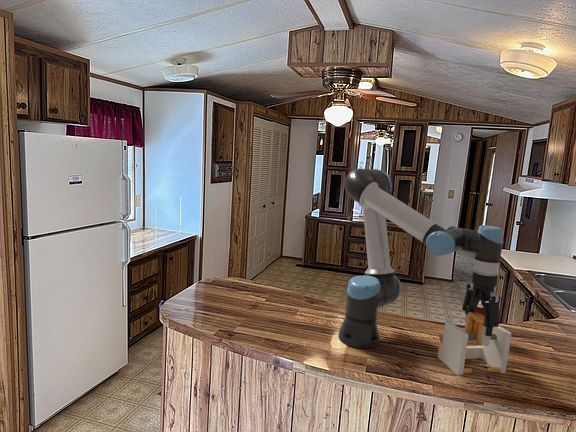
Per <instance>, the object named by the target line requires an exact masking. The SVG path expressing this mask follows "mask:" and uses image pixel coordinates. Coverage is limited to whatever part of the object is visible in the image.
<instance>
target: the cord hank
mask: <svg viewBox="0 0 576 432" xmlns="http://www.w3.org/2000/svg"><path fill="white" fill-rule="evenodd" d="M478 323H479V328H478V335H477V340H476V343H475V345H476V346H482V345H481V338H482V331H483V325H485V318H484V316H483V315H481V314H480V313H478V312H474V313H472V312H469V313H468V316H467V323H465V324H466V331H465V330H464V331H465V332H466V333H468V334H477V327H478ZM489 323H490V322H489ZM485 346H488V345H485Z"/></svg>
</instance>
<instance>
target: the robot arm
mask: <svg viewBox="0 0 576 432" xmlns="http://www.w3.org/2000/svg"><path fill="white" fill-rule="evenodd" d="M392 185H393V183H392V179H391V177H390V176H389V175H388V173H386V171H384V170H380V169H377V168H372V169H371V168H356V169H353V170H351V171H350V172H348V174H347V175H346V177H345V178H344V183H343V186H344V190H345V193H346V194H347V195H348V196H349V197H350V198H351V199H352V200H354V201H355V202H356V203H358V205H359V206H360V208H361V209H362V211H363V214H362V215H363V222H364V223H363V224H364V234H365V235H364V237H365V245H366V246H365V247H366V255H367V266H368V267H367V269H366V270H365V271H364V274H363V275H355V276H353V277H351V278H350V279H349V281H348V282H347V283H348V286H347V288H346V302H345V303H346V304H345V315H344V319H343V321H342V322H341V325H340V327H339V330H338V339H339V340H340V342H342V344H345V345H347V346H350V347H354V348H357V349H371V348H374V347H377V346H378V345H379V343H380V334H379V329H378V323H377V319H378V310H379V309H380V308H383V307H385V306H389V305H391V304H392V303H394V302H396V301H397V300H398V299H399V298H400V295H401V293H402V284H401V281H400V279H399V278H397V276H396V270H395V269H394V268H393V267H391V262H390V261H391V259H390V250H389V249H390V248H389V247H390V246H389V239H388V238H389V237H388V227H387V220H388V221H390V222H392V223H393V224H394V225H396V226H398V227H399V228H401V229H402V230H404V232H406V233H408V234H409V235H411V236H412V237H413V238H415V239H417V240H419V241H420V242H421V243H422V244H424V245H426V248H427V250H428V251H429V253H430V254H432V255H435V256H448V255H450V254H452V253H454V252H457V251H463V252H467V253H468V252H469V253H473V254H474V255H475V256H474V259H473V266H472V270H473V272H472V277H471V283H467V284H466V290H465V295H464V299H463V302H462V307H461V309H462V311H464V313H465V318H464V319H465V320H464V321H465V322H464V323H465V325H464V331H466V323H467V316H468V313H469V312H472V313H474V311H475V309H476V307H477V305H478V303H479V302H480V301H481V304H482V305H483V311H484V318H485V325H483V331H482V338H481V345H490V337H491V336H492V330H493V327H498V326H500V304H501V299H502V297H501V296H500V295H496V294H495V290H494V289H495V288H496V287H497V286H498V280H499V276H498V274H499V271H500V264H501V257H502V250H503V247H504V234H505V232H504V229H503V228H501V227H498V226H494V225H487V224H486V225H482V224H481V225H480V226H479V227H478V229H476V230H474V229H468V228H463V227H456V226H450V225H445V226H441V225H439V224H437V223H436V222H434V221H433V220H431V219H430V218H428V217H426V216H425V215H423V214H422V213H420V212H419V211H418V210H415V209H414V208H412V207H411V206H409V205H407V204H406V203H404V202H403V201H401V200H399V199H398V198H396V197H394V196H393V195H392V194H390V193H391V191H392V188H393V186H392ZM488 301H489V302H488ZM489 322H490V323H489Z"/></svg>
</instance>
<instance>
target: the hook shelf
mask: <svg viewBox="0 0 576 432" xmlns="http://www.w3.org/2000/svg"><path fill="white" fill-rule="evenodd" d="M477 335H478V334H468V333H466V332H465V330H463V329H462V328H460V327H459V326H457V325H456V324H454V322H451V321H444V329H443V335H442V336H443V337H442V342H441V343H442V344H441V346H439V347H438V352H437V353H438V354H437V359H439V360H440V361H441V362H442V363H443V364H444V365H446V366H447V367H448V368H449V369H450V370H451V371H452V372H454V374H456V375H457V376H463V375H466V374H472V373H473V369H472V368H471V367H466V368H465V361H466V360H467V359H468V360H472V359H473V360H475V359H481V360H482V361H484V362H485V363H486V364H487V365H489V366H490V367H488V368H487V370H488V372H489V373H499V374H506V371H507V366H508V365H507V364H508V359H509V352H510V346H511V340H512V332H511V331H509V330H507V329H505V328H504V327H501V326H500V325H499V326H498V327H493V330H492V336H491V337H490V345H488V346H485V345H482V346H478V345H468V341H477Z"/></svg>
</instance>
